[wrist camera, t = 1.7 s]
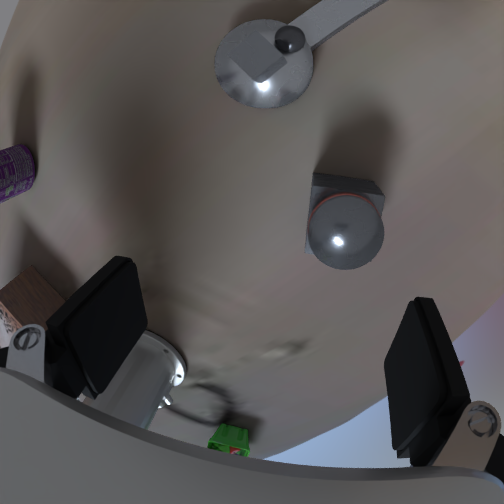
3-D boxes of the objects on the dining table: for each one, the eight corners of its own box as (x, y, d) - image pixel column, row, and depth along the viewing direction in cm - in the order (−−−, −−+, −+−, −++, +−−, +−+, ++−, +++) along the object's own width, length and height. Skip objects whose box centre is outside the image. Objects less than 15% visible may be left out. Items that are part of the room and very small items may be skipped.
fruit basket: (247, 449, 54) (235, 493, 44) (207, 439, 54) (191, 481, 45) (256, 428, 48) (243, 479, 38) (209, 415, 49) (191, 465, 39)
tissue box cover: (32, 264, 41) (-6, 294, 33) (88, 320, 44) (55, 358, 35) (22, 328, 53) (-2, 353, 45) (64, 368, 56) (42, 397, 47)
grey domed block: (374, 180, 26) (391, 203, 20) (363, 238, 28) (375, 274, 22) (312, 171, 27) (312, 191, 20) (305, 230, 29) (303, 265, 23)
